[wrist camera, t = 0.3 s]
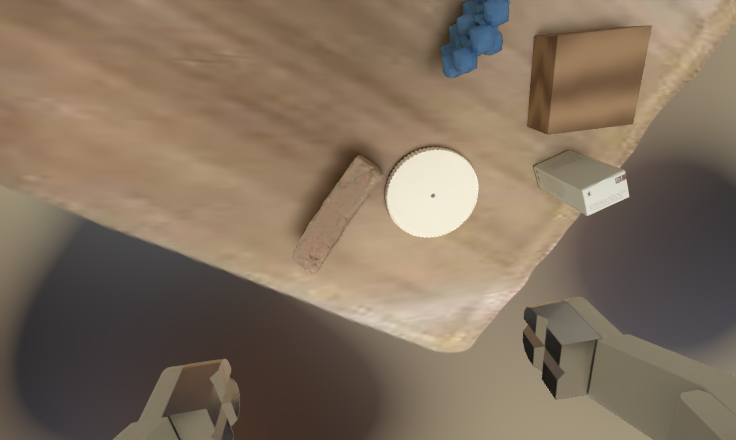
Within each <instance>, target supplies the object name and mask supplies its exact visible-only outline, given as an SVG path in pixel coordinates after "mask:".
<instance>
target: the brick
mask: <svg viewBox="0 0 736 440" xmlns="http://www.w3.org/2000/svg"><path fill="white" fill-rule="evenodd" d="M383 177H384V174H383V173H382V172H381V171H380V170H379V168H378V167H377V166H376V165H375V164H374V163H372V162H371V161H369V160H368V159H366V158H365V157H364V156H362V155H358V156H357V157H356V158H355V159H354V160H353V162H352V163H351V164H350V166H349V167H348V168H347V170H346V171H345V173H344V175H343V176H342V177H341V179H340V180H339V182H338V183H337V184H336V185H335V187H334V188H333V190H332V191H331V193H330V194H329V195H328V197H327V198H326V200H325V201H324V203H323V204H322V206H321V207H320V209H319V211H318V212H317V213H316V215H315V216H314V217H313V218H312V220H311V221H310V223H309V225H308V226H307V228H306V230H305V232H304V233H303V235H302V237H301V238H300V241H299V242H298V244H297V246H296V249H295V250H294V253H293V256H292V257H293V259H294V261H295V262H296V263H298V264H299V265H300V266H301V267H302V268H304V269H309V271H310V272H311V273H316V272H317V271H318V270H319V269H320V267H321V265H322V264H323V262H324V261H325V259H326V258H327V257H328V255H329V253H330V252H331V250H332V248H333V247H334V246H335V245H336V244H337V242H338V241H339V238H340V237H341V236H342V234H343V232H344V230H345V228H346V226H347V225H348V223H349V222H350V220H351V219H352V217H353V216H354V215H355V213H356V212H357V211H358V209H359V208H360V207H361V206H362V205H363V203H364V202H365V200H366V199H367V198H368V197H369V195H370V193H371V192H372V190H373V189H374V188H375V187H376V186H377V184H378V183H379V182H380V180H381V179H382V178H383Z"/></svg>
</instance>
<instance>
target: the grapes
mask: <svg viewBox="0 0 736 440" xmlns="http://www.w3.org/2000/svg"><path fill="white" fill-rule="evenodd" d="M509 4H510V0H469V1H467V2H465V3H463V15H462V16H460V17H458V18H457V23H455V24H453V25H451V26H449V38H450V42H451V43H448V44H446V45H444V46H442V47H441V57H442V66H443V72H444V74H445V76H446V77H449V78H454V77H457V76H459V75H461V74H464V73H468V72H470V71H472V70H474V69H476V68H477V56H480V55H482V54H485V55H493V54H495V53H497V52H499V51H501V50H502V42H503V40H502V34H501V33H500V31H499V30H498V26H499V25H501V24H503V23H505V22H507V21H508V18H509Z"/></svg>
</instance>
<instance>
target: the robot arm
mask: <svg viewBox="0 0 736 440" xmlns="http://www.w3.org/2000/svg"><path fill="white" fill-rule="evenodd" d="M524 320H525V321H526V323H527V324H528V326H527V327H526V328H525V330H524V331H523V345H524V349H525V352H526V355H527V357H528V359H529V361H530V362H531V363H532V365H533V366H534V367H536V368H538V369H539V370H541V371H542V380H543V382H544V383H545V385H546V386H547V388H548V389H549V391H550V392H551V394H552V395H553V397H554V398H555V399H556V400H557V399H563V398H570V397H576V396H583V395H588V396H589V397H590V398H591V399H593V400H594V401H596V402H597V403H599V404H600V405H602V406H603V407H605V408H606V409H608V410H609V411H611V412H612V413H614V414H615V415H617V416H618V417H620V418H621V419H623V420H624V421H626V422H627V423H629V424H630V425H632V426H633V427H635V428H637V429H638V430H639V431H641V432H643V433H644V434H645V435H647V436H648V437H650V438H651V439H653V440H736V377H735V376H732V375H730V374H727V373H725V372H722V371H720V370H717V369H715V368H712V367H710V366H707V365H705V364H702V363H700V362H697V361H695V360H692V359H689V358H687V357H685V356H682V355H679V354H677V353H674V352H672V351H669V350H667V349H664V348H662V347H659V346H657V345H654V344H652V343H649V342H647V341H644V340H642V339H639V338H637V337H634V336H632V335H629V334H628V335H622V334H621V333H620V332H619V331H618V330H617V329H616V328H615V327H614V326H613V325H612V324H611V323H610V322H609V321H608V320H606V318H604V317H603V316H602V315H601V314H600V313H599V312H598V311H597V310H596V309H595V308H594V307H593V306H592V305H591V304H590V303H589V302H588V301H587V300H585V299H584V298H582V297H575V298H570V299H565V300H562V301H556V302H550V303H545V304H539V305H533V306H528V307H526V309H525V311H524ZM230 373H231V368H230V365H229V363H228V360H225V359H220V360H213V361H206V362H200V363H193V364H187V365H182V366H175V367H168V368H167V369H165V370H164V371H163V372H162V374H161V376H160V378H159V381H158V382H157V384H156V386H155V388H154V390H153V392H152V394H151V397H150V399H149V401H148V403H147V405H146V407H145V409H144V411H143V413H142V415H141V417H140V419H139V421H138V422H135V423H131V424H130V425H129V426H128V427H127V428H126V429H125V430H123V431H122V432H121V433H120V434H119V435H118V436H116V437H115V438H114V439H113V440H233V437H234V434H233V432H232V429H231V426H232V425H233V424H234V423H235V422H236V421H237V419H238V414H239V409H240V396H239V390H238V387H237V384H236V382H235V381H234V380H232V379H231V378H229V376H230Z"/></svg>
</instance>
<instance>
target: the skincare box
mask: <svg viewBox="0 0 736 440" xmlns="http://www.w3.org/2000/svg"><path fill="white" fill-rule="evenodd" d="M534 170H535V174H536V177H537V181H538V185H539V188H541V189H542V190H544V191H546V192H547V193H549V194H551V195H553V196H554V197H556V198H558V199H559V200H561V201H563V202H564V203H566V204H568V205H569V206H571V207H573V208H575V209H576V210H578V211H580V212H581V213H583V214H585V215H586V216H588V215H591V214H593V213H595V212H597V211H599V210H601V209H603V208H606V207H608V206H610V205H612V204H614V203H617V202H619V201H621V200H623V199H625V198H628V197H629V193H628V187H627V181H626V175H625V170H623V169H620V168H617V167H614V166H611V165H609V164H606V163H603V162H600V161H598V160H595V159H592V158H589V157H587V156H584V155H581V154H578V153H576V152H573V151H570V150H568V151H566V152H563V153H561V154H559V155H557V156H555V157H553V158H550V159H548V160H546V161H544V162H542V163H539V164H537V165H535V166H534Z"/></svg>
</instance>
